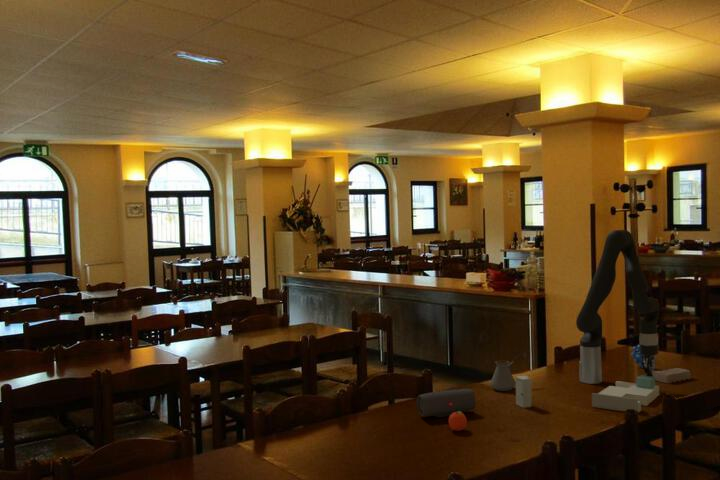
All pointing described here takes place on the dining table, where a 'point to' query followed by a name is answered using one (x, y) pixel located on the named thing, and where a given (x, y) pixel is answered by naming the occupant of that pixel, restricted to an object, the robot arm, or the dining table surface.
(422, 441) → the dining table surface
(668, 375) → the brick
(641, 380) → the block
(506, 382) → the coffee pot
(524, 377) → the skincare box
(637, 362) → the grapes
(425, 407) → the bluetooth speaker
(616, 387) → the tray
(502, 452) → the dining table surface
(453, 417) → the clementine
